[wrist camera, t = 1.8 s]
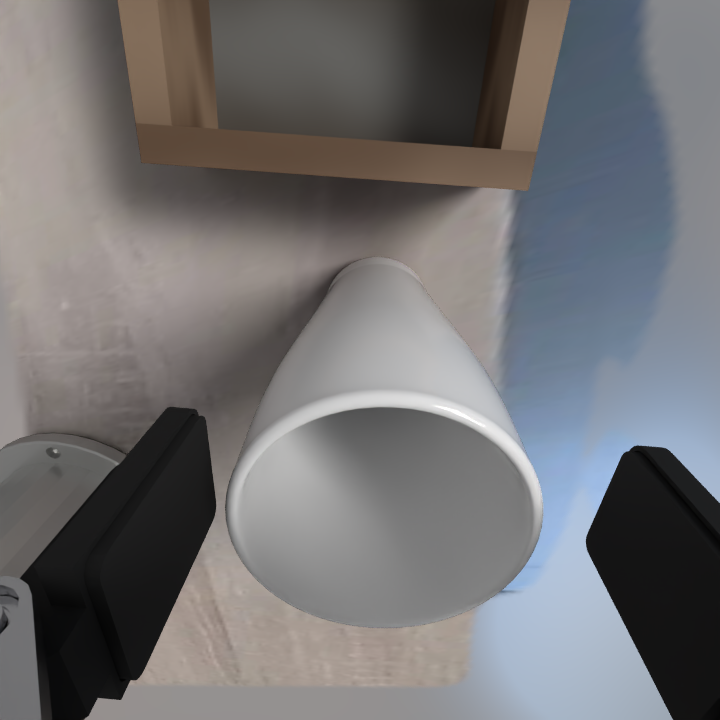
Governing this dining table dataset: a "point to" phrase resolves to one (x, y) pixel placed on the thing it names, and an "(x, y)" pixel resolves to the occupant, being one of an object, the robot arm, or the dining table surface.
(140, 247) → the dining table surface
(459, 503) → the drinking glass
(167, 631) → the dining table surface
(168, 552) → the robot arm
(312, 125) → the caddy
